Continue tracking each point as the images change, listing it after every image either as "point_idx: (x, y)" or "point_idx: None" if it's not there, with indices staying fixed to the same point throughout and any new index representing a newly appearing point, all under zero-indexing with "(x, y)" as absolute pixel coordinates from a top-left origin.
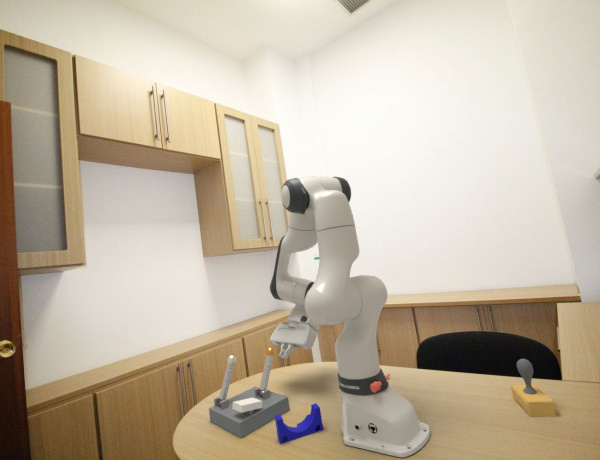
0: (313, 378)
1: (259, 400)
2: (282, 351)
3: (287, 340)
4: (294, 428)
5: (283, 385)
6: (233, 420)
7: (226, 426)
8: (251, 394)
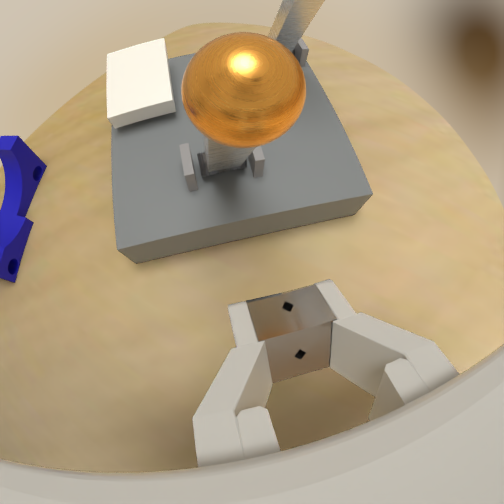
0: None
1: (118, 111)
2: (317, 320)
3: (330, 477)
4: (16, 201)
5: None
6: None
7: None
8: (293, 146)
